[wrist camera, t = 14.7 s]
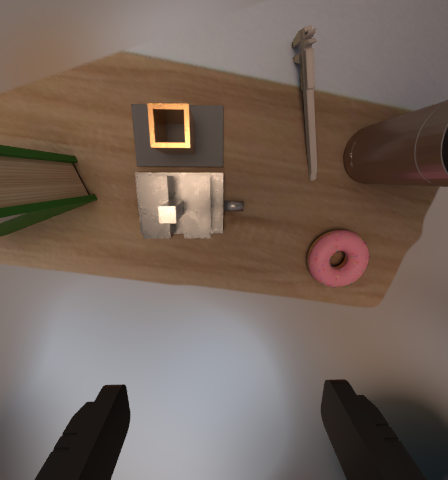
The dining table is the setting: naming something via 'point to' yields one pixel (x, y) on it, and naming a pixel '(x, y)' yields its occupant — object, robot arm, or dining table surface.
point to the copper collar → (171, 115)
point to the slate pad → (182, 138)
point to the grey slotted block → (181, 204)
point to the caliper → (307, 92)
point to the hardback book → (37, 187)
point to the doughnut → (348, 268)
